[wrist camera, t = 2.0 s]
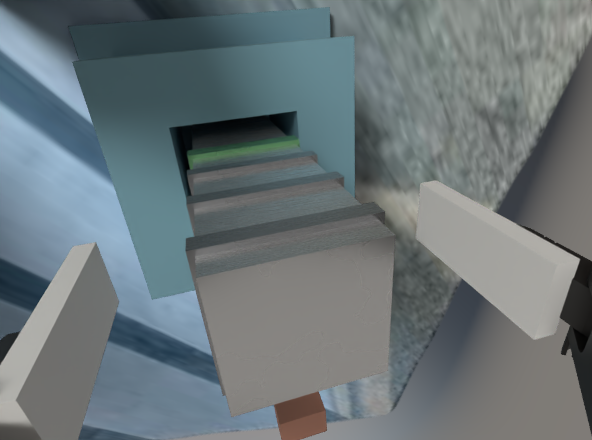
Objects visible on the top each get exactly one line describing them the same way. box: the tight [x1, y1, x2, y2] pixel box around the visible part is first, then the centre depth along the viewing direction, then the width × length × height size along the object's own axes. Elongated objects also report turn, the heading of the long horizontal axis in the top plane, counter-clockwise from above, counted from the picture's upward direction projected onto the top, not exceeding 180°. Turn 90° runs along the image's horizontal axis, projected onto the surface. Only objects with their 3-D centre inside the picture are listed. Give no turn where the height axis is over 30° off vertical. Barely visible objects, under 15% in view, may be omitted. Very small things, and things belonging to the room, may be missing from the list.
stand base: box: [68, 7, 355, 440], centre depth 21 cm, size 18×18×21 cm
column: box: [185, 115, 395, 417], centre depth 19 cm, size 5×5×22 cm
